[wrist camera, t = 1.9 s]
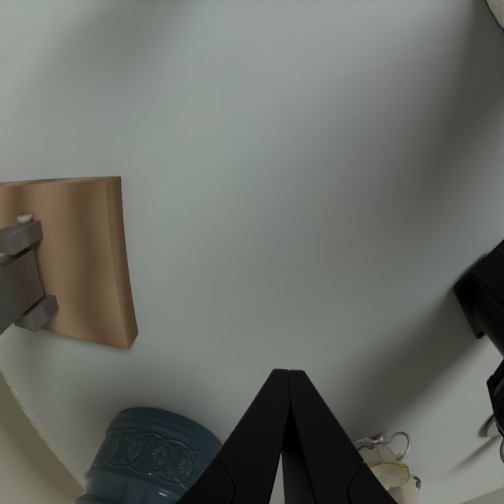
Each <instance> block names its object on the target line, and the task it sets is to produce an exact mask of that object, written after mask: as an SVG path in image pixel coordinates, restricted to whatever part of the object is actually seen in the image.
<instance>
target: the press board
mask: <svg viewBox="0 0 504 504" xmlns="http://www.w3.org/2000/svg"><path fill="white" fill-rule="evenodd" d="M24 248H29V249H33V251H34V256H35V260H36V265H37V270H38V274H39V278H40V282H41V286H42V290H43V294H44V296H43V297H42V298H40V299H39V300H38V301H37V302H36V303H35V304H33V305H32V306H31V307H30V308H29V309H28V310H27V311H26V312H25V313H23V314H22V315H21V316H20V317H19V318H18V319H17V320H16V321H15V322H14V324H15V326H19V327H22V328H25V329H28V330H31V331H35V332H37V331H38V330H39V329H40V328H41V329H44V330H48V331H52V332H55V333H59V334H63V335H67V336H71V337H75V338H79V339H83V340H87V341H92V342H96V343H100V344H105V345H110V346H114V347H119V348H124V349H129V348H130V346H131V345H132V343H133V341H134V340H135V338H136V337H137V335H138V330H137V324H136V319H135V313H134V306H133V300H132V293H131V286H130V279H129V271H128V263H127V254H126V245H125V235H124V223H123V210H122V194H121V177H84V178H61V179H44V180H30V181H17V182H6V183H0V257H2V256H4V255H5V254H12V255H15V254H16V253H18V252H20V251H21V250H23V249H24Z"/></svg>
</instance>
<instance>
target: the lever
mask: <svg viewBox="0 0 504 504" xmlns="http://www.w3.org/2000/svg"><path fill="white" fill-rule="evenodd" d="M43 296H44V294H43V290H42V286H41V282H40V278H39V274H38V270H37V265H36V260H35V256H34V251H33V249H29V248H24V249H23V250H21V251H20V252H18V253H16V254H15V255H12V254H5V255H4V256H2V257H0V335H1V334H2V333H3V332H4V331H5V330H6V329H7V328H8V327H9V326H10V325H11V324H12V323H14V322H15V321H16V320H17V319H18V318H19V317H20V316H21V315H22V314H23V313H25V312H26V311H27V310H28V309H29V308H30V307H31V306H32V305H33V304H35V303H36V302H37V301H38V300H39V299H40V298H42V297H43Z"/></svg>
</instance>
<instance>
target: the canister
mask: <svg viewBox="0 0 504 504" xmlns="http://www.w3.org/2000/svg"><path fill="white" fill-rule="evenodd" d="M222 446H223V445H222V444H221V442H220V441H219V440H218V439H217V438H216V437H215V436H214V435H213V434H212V433H211V432H209V431H208V430H206V429H205V428H203V427H202V426H200V425H198V424H197V423H195V422H193V421H191V420H188V419H186V418H184V417H181V416H179V415H176V414H173V413H169V412H166V411H162V410H157V409H150V408H132V409H127V410H124V411H122V412H121V413H119V414H118V415H117V417H116V418H115V419H114V420H113V421H112V422H111V423H110V425H109V428H108V429H107V431H106V435H105V439H104V441H103V443H102V445H101V447H100V449H99V451H98V453H97V455H96V457H95V459H94V461H93V464H92V466H91V468H90V470H89V471H87V472H86V473H85V476H84V479H85V482H86V487H85V489H84V492H83V495H82V496H81V497H77V498H75V499H74V500H73V504H174V503H175V502H176V501H177V500H178V499H179V498H180V497H181V496H182V495H183V494H184V493H185V492H186V491H187V490H188V489H189V488H190V487H191V486H192V485H193V484H194V483H195V482H196V480H197V479H198V478H199V477H200V475H201V474H202V473H203V472H204V470H205V469H206V468H207V467H208V465H209V464H210V462H211V461H212V460H213V458H216V454H217V453H218V452H219V450H220V449H221V447H222Z"/></svg>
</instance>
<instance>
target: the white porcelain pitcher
mask: <svg viewBox="0 0 504 504" xmlns="http://www.w3.org/2000/svg"><path fill="white" fill-rule="evenodd" d="M486 433H487V435H488V437H496V436H498V435H501V434H500V433H499V432H498V428H497V426H496V422H495V419H494V417H493V418H492V420H491V421H490V422H489V424H488V426H487V429H486ZM500 457H501V460H502V462H503V463H504V438H503V440H502V443H501V446H500Z"/></svg>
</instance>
